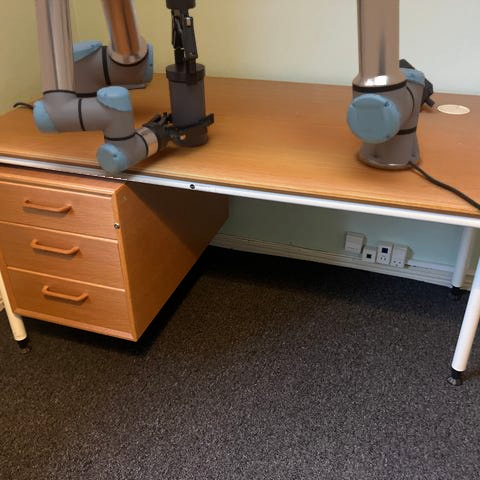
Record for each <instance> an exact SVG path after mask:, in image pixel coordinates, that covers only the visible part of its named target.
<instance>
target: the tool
mask: <svg viewBox="0 0 480 480" xmlns="http://www.w3.org/2000/svg"><path fill="white" fill-rule="evenodd" d="M399 68H408V69H414V70H417V68H415V66H413V65H412V64H411V63H410V62H409V61H407V60H406V59H405V58H401V59H399ZM424 84H425V87H424V88H423V94H422V100H421V106H420V108H422V107H423V106H424V105H425V104H426V105H427V106H428V107H429V108H432V107H433V106H434V105H435V104H436V101H434V100H433V99H432V98H431V96H432V95H434V93H435V91H434V85H433V83H432V82H431V81H430V80H428V78H426V77H425V82H424Z"/></svg>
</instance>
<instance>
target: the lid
mask: <svg viewBox="0 0 480 480" xmlns="http://www.w3.org/2000/svg"><path fill="white" fill-rule="evenodd" d="M196 72H197V80H199V79H202V78H204V79H205V77H206V65H205V64H203V63H200V62H199V63H198V62H196ZM165 76H166V79H167V80H168V79H169V80H173V81H186V70H185V63H176V64H175V63H172V64H169V65H167V66H165Z"/></svg>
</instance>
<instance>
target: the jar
mask: <svg viewBox="0 0 480 480" xmlns="http://www.w3.org/2000/svg"><path fill="white" fill-rule="evenodd" d="M167 81H168V92H169V104H170V113H171V116H172V124H171V125H176V124H178V125H185V124H190V123H195V122H199V121H198V120H199V119H201V118H203V117H205V116H207V113H206V112H207V111H206V110H207V109H206V92H205V91H206V90H205V89H206V88H205V77H204V78H202V79H199V80H197V85H192V86H187V84H186V81H173V80H169V79H167ZM175 129H176V134H177V128H175ZM207 141H208V133H205V134H202V135H199V136H196V137H193V138H190V139H188V140H186V141H184V142H180V140H179V139H174V140H173V143H174V144H175V145H177V146H180V147H198V146H201V145H203V144H205V143H207Z"/></svg>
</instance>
